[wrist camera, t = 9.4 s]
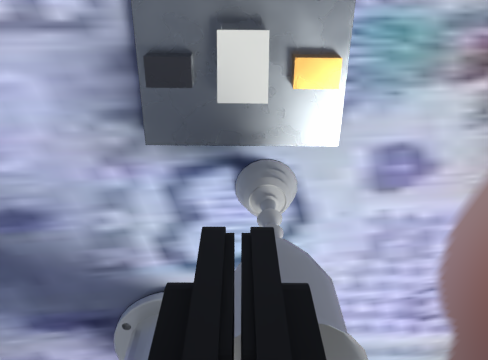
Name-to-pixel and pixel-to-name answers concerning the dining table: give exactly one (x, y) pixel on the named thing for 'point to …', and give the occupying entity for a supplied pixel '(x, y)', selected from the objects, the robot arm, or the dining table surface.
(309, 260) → the chalice
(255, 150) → the dining table surface
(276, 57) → the panel
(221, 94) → the block
